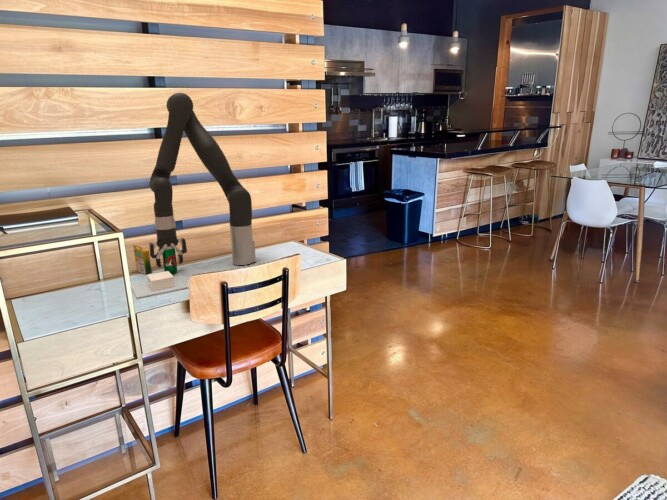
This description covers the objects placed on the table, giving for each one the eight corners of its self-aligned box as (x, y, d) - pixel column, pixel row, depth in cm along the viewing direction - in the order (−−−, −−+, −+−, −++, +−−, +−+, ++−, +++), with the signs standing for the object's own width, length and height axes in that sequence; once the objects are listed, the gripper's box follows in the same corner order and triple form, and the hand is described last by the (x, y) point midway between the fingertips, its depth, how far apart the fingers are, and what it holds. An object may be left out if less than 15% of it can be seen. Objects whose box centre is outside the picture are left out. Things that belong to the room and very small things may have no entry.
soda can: (179, 271, 193) (176, 243, 189) (174, 275, 188) (171, 247, 184) (168, 271, 193) (164, 243, 190) (162, 275, 188) (159, 247, 185)
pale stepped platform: (183, 276, 186) (181, 265, 185) (193, 287, 175) (191, 276, 174) (130, 286, 176) (128, 275, 175) (137, 299, 165) (135, 287, 164)
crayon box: (152, 272, 191) (148, 246, 188) (145, 274, 189) (141, 247, 186) (143, 269, 196) (139, 242, 192) (136, 271, 194) (132, 244, 190)
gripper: (181, 222, 191) (185, 259, 196) (144, 227, 184) (150, 265, 189) (186, 226, 185) (190, 264, 190) (148, 231, 178) (154, 271, 183)
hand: (170, 265), depth 189 cm, fingers open, 8 cm apart
